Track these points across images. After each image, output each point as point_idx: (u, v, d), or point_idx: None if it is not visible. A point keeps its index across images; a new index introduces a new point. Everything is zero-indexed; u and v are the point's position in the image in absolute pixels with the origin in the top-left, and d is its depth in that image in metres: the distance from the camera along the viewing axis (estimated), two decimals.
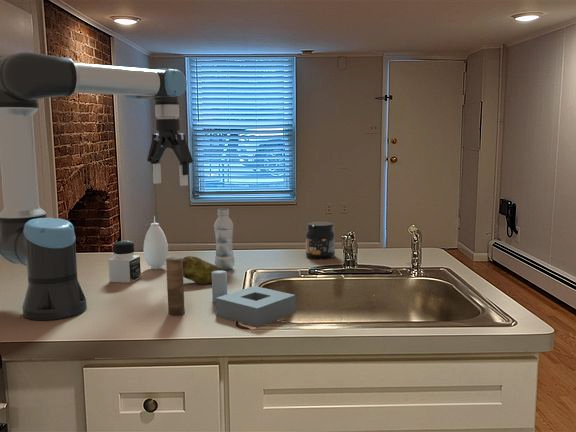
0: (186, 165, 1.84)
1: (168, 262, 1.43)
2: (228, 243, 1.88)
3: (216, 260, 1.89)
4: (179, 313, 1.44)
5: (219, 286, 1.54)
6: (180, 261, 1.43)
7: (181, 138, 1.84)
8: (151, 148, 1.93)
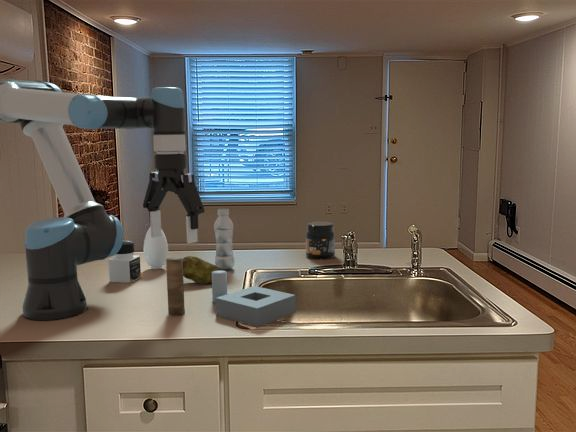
0: (195, 216, 1.37)
1: (168, 262, 1.43)
2: (228, 243, 1.88)
3: (216, 260, 1.89)
4: (179, 313, 1.44)
5: (219, 286, 1.54)
6: (180, 261, 1.43)
7: (189, 180, 1.37)
8: (148, 191, 1.46)
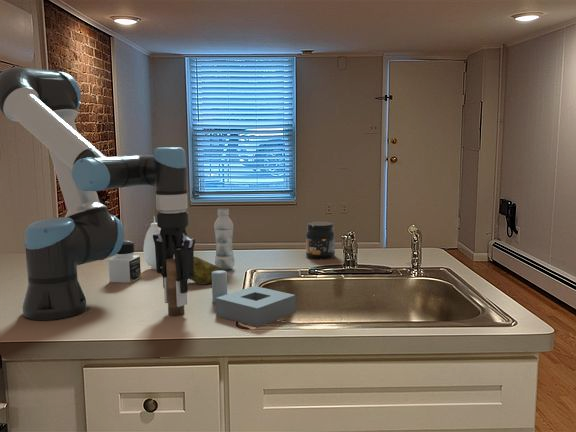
0: (185, 281, 1.42)
1: (168, 262, 1.43)
2: (228, 243, 1.88)
3: (216, 260, 1.89)
4: (179, 313, 1.44)
5: (219, 286, 1.54)
6: None
7: (188, 246, 1.39)
8: (157, 254, 1.46)
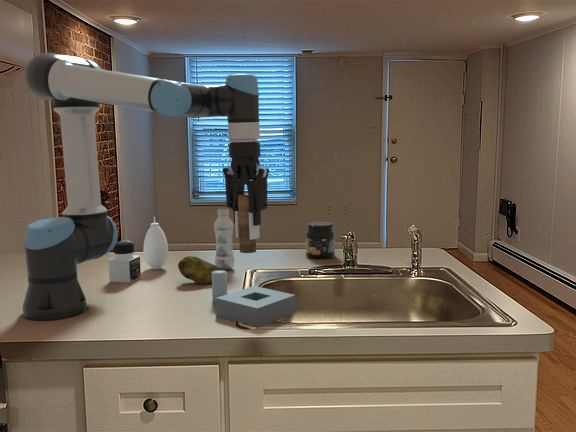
0: (258, 212, 1.39)
1: (240, 197, 1.39)
2: (228, 243, 1.88)
3: (216, 260, 1.89)
4: (251, 250, 1.41)
5: (219, 286, 1.54)
6: None
7: (263, 175, 1.36)
8: (227, 187, 1.43)
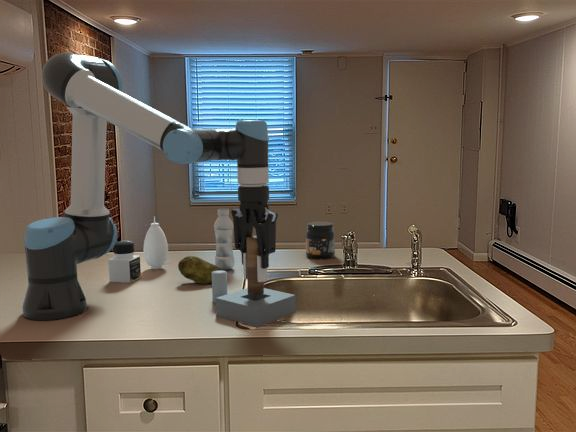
0: (266, 256, 1.40)
1: (249, 240, 1.41)
2: (228, 243, 1.88)
3: (216, 260, 1.89)
4: (259, 292, 1.43)
5: (219, 286, 1.54)
6: None
7: (272, 220, 1.37)
8: (235, 229, 1.44)
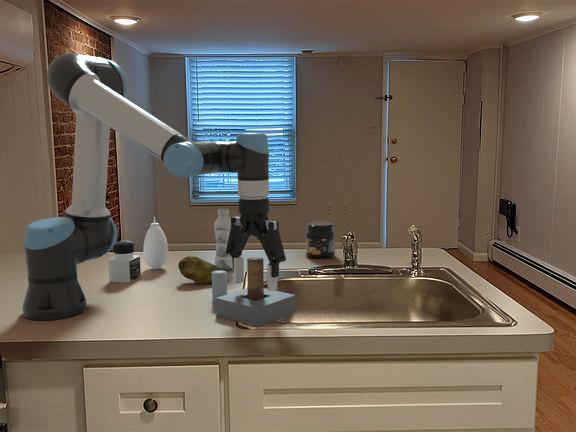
0: (277, 264, 1.39)
1: (250, 262, 1.42)
2: None
3: (216, 260, 1.89)
4: None
5: (219, 286, 1.54)
6: (262, 261, 1.42)
7: (274, 228, 1.37)
8: (230, 236, 1.46)
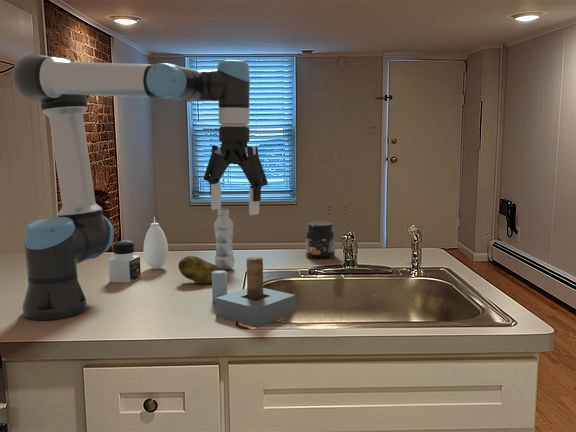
0: (258, 188, 1.40)
1: (249, 262, 1.42)
2: (228, 243, 1.88)
3: (216, 260, 1.89)
4: None
5: (219, 286, 1.54)
6: (261, 261, 1.42)
7: (253, 152, 1.39)
8: (210, 163, 1.48)
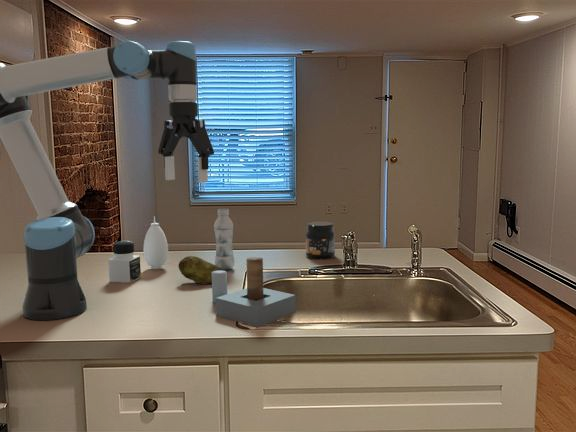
0: (206, 158, 1.53)
1: (249, 262, 1.42)
2: (228, 243, 1.88)
3: (216, 260, 1.89)
4: None
5: (219, 286, 1.54)
6: (261, 261, 1.42)
7: (200, 125, 1.52)
8: (163, 138, 1.61)
